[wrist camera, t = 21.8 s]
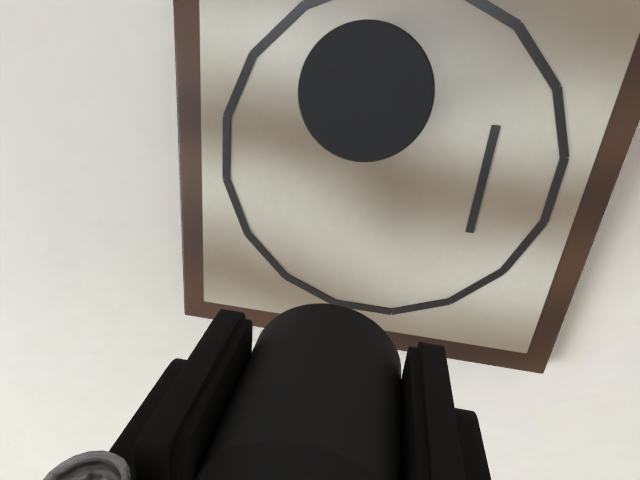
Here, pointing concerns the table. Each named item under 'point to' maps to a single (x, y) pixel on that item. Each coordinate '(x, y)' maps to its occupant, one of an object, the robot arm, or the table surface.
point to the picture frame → (407, 169)
